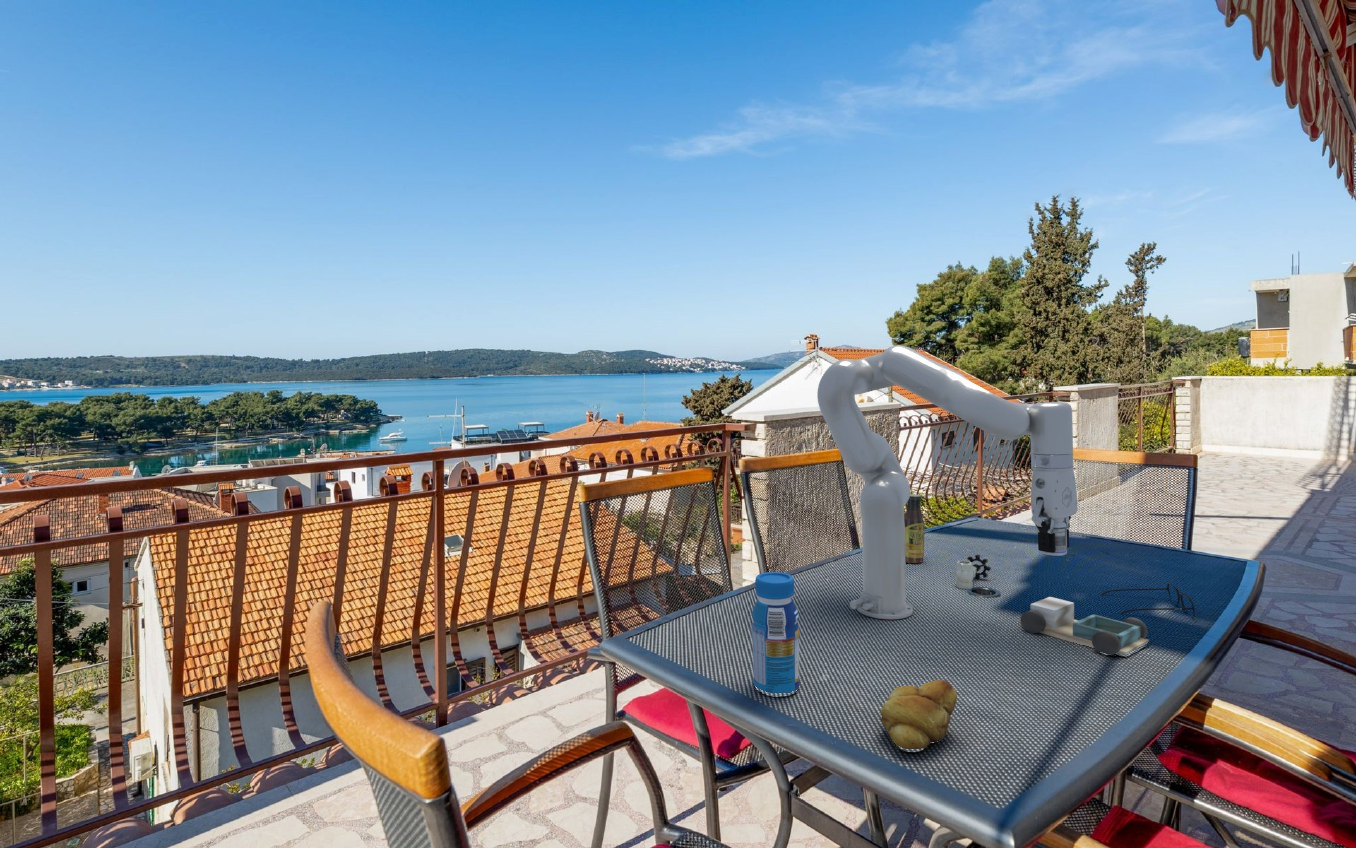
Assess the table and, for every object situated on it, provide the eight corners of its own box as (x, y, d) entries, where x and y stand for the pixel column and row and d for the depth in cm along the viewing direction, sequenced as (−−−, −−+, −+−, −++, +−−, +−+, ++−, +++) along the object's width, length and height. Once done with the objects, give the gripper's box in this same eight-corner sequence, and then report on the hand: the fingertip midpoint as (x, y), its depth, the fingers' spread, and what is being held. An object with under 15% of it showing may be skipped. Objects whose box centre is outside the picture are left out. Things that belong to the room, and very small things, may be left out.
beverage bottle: (742, 688, 114) (740, 577, 113) (771, 672, 120) (769, 567, 118) (781, 704, 108) (779, 587, 107) (810, 687, 114) (808, 576, 112)
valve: (975, 592, 162) (991, 580, 171) (975, 566, 162) (991, 556, 170) (948, 587, 167) (965, 576, 175) (948, 562, 166) (965, 552, 175)
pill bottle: (1043, 549, 137) (1042, 510, 136) (1068, 551, 134) (1068, 511, 133) (1038, 554, 133) (1037, 514, 133) (1065, 557, 130) (1064, 516, 130)
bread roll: (927, 768, 89) (927, 712, 89) (862, 743, 96) (862, 690, 95) (961, 730, 98) (961, 680, 98) (900, 710, 105) (900, 662, 105)
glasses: (1197, 623, 139) (1194, 600, 139) (1117, 624, 144) (1114, 602, 144) (1170, 601, 153) (1167, 581, 153) (1098, 603, 158) (1096, 583, 158)
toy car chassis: (1121, 660, 121) (1122, 633, 121) (1016, 628, 138) (1016, 604, 137) (1152, 643, 128) (1152, 618, 128) (1049, 615, 145) (1049, 592, 144)
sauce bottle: (910, 565, 187) (909, 497, 186) (897, 559, 193) (896, 494, 192) (929, 563, 188) (929, 496, 187) (916, 557, 194) (915, 492, 193)
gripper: (1049, 467, 125) (1051, 560, 125) (1091, 459, 134) (1093, 545, 135) (1011, 465, 131) (1013, 553, 132) (1054, 457, 140) (1055, 539, 141)
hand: (1053, 548), depth 133 cm, fingers closed on pill bottle, 4 cm apart
